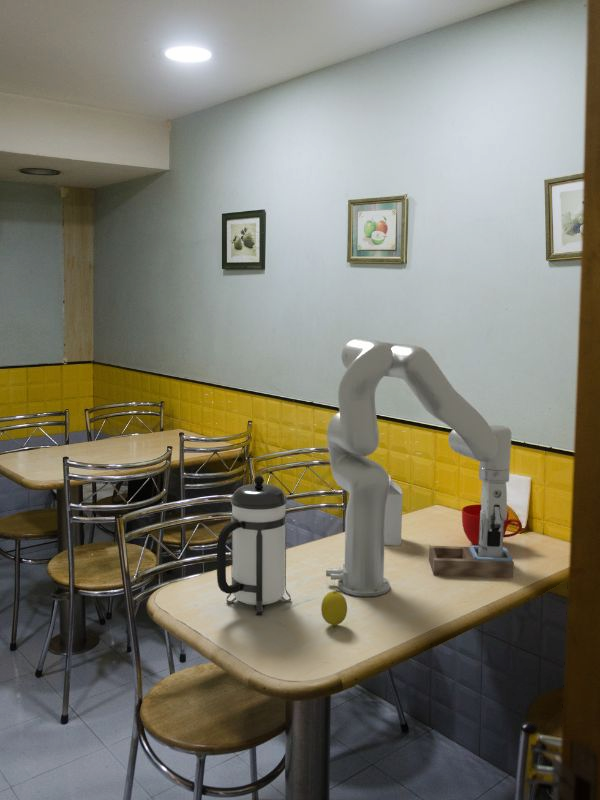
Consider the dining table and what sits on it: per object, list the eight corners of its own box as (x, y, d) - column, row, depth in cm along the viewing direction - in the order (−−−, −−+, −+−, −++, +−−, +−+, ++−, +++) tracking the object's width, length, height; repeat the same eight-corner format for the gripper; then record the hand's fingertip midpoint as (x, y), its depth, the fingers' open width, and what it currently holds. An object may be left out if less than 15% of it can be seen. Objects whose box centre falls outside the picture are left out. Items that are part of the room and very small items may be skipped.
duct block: (433, 575, 188) (434, 558, 187) (428, 559, 199) (429, 543, 198) (513, 577, 187) (514, 560, 186) (503, 562, 197) (504, 545, 197)
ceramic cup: (514, 558, 201) (516, 522, 199) (454, 547, 209) (455, 512, 208) (526, 544, 212) (527, 510, 210) (468, 534, 220) (469, 502, 219)
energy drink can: (475, 557, 195) (477, 502, 193) (497, 557, 195) (500, 502, 193) (482, 566, 189) (484, 509, 187) (505, 565, 189) (508, 509, 187)
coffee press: (225, 588, 178) (224, 467, 174) (291, 589, 178) (292, 468, 174) (216, 620, 161) (215, 486, 156) (290, 621, 161) (291, 487, 156)
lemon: (319, 620, 161) (320, 586, 160) (345, 620, 161) (345, 585, 160) (322, 632, 156) (322, 596, 154) (348, 631, 156) (349, 595, 155)
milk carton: (400, 538, 216) (402, 475, 213) (401, 546, 209) (403, 481, 206) (375, 537, 217) (377, 474, 214) (375, 545, 210) (377, 480, 207)
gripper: (516, 483, 180) (512, 553, 182) (501, 466, 197) (498, 531, 199) (485, 482, 180) (482, 552, 183) (473, 465, 197) (470, 530, 200)
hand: (490, 541), depth 191 cm, fingers closed on energy drink can, 6 cm apart
